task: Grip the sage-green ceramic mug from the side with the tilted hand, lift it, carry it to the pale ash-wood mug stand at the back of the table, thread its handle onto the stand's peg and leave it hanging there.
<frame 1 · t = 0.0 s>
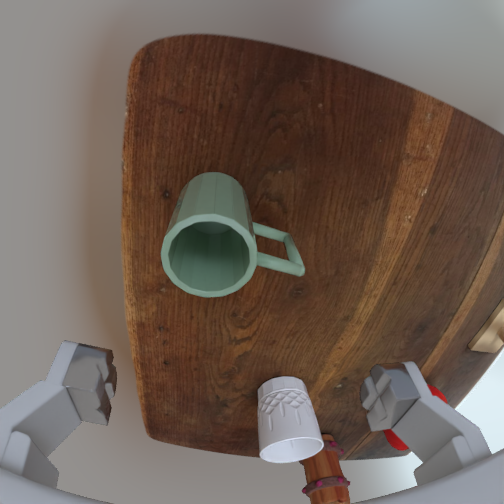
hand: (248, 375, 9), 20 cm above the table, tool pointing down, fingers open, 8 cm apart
mug: (320, 442, 53), on the table
tomato: (404, 395, 47), on the table
white cup: (281, 388, 42), on the table
enamel mug: (213, 205, 28), on the table
mug stand: (497, 326, 41), on the table
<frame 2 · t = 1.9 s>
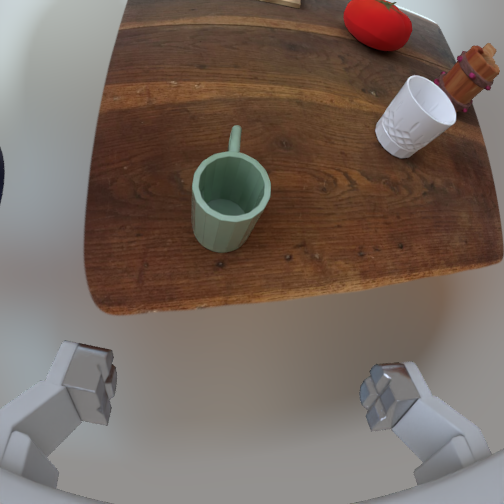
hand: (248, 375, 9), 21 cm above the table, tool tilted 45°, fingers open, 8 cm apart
mug: (446, 97, 48), on the table
tomato: (366, 41, 47), on the table
white cup: (393, 139, 41), on the table
enamel mug: (221, 224, 33), on the table
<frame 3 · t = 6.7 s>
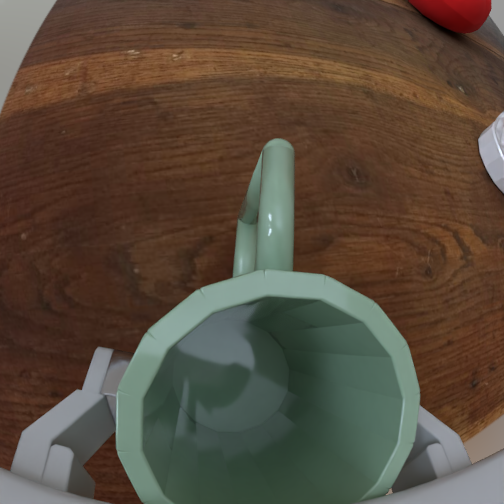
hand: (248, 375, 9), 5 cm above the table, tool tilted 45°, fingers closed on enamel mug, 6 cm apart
tomato: (429, 16, 28), on the table
white cup: (499, 166, 22), on the table
enamel mug: (230, 376, 14), on the table, touching gripper
when the fingers open (13 cm above the table, at t = 20.9 s): enamel mug drops 1 cm and tips over, resting on mug stand.
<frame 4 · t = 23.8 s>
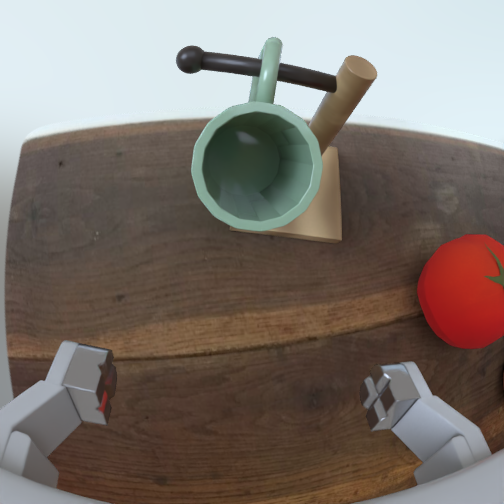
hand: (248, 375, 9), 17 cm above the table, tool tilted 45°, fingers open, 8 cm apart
tomato: (441, 299, 30), on the table
enamel mug: (243, 160, 23), point 6 cm above the table, tilted 33°, touching mug stand
mug stand: (287, 187, 30), on the table
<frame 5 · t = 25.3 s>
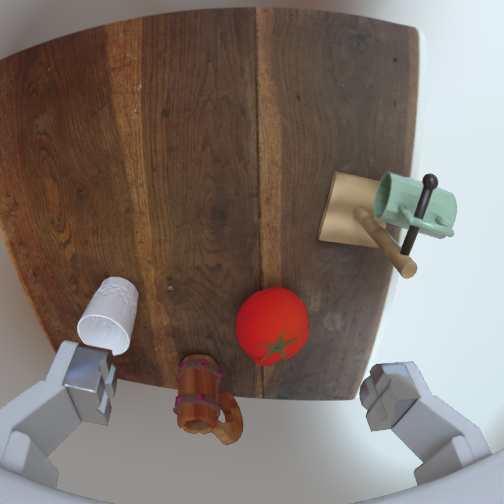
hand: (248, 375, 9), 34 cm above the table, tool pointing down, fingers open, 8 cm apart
mug: (209, 368, 59), on the table
tomato: (268, 305, 52), on the table
white cup: (119, 292, 48), on the table
enamel mug: (444, 215, 34), point 10 cm above the table, tilted 104°, touching mug stand
mug stand: (356, 210, 44), on the table
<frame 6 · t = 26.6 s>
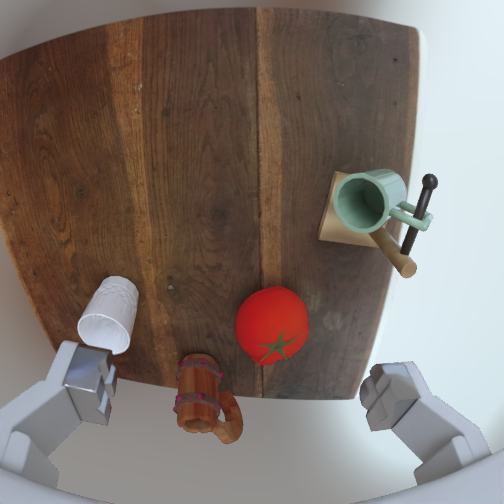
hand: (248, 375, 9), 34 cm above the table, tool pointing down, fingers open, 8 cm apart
mug: (209, 367, 59), on the table
tomato: (268, 304, 52), on the table
white cup: (119, 291, 48), on the table
enamel mug: (383, 192, 37), point 6 cm above the table, tilted 43°, touching mug stand
mug stand: (356, 209, 44), on the table
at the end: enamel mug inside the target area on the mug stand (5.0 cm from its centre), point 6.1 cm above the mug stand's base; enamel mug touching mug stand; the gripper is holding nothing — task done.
